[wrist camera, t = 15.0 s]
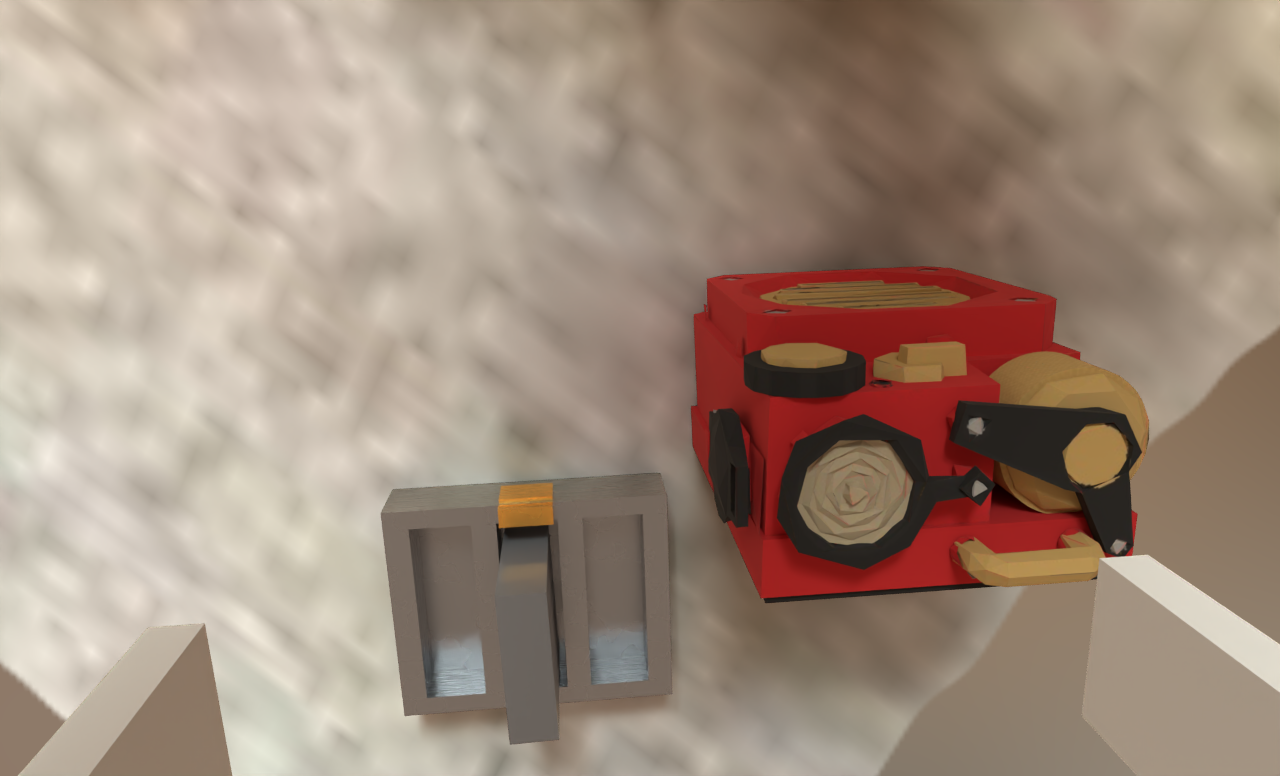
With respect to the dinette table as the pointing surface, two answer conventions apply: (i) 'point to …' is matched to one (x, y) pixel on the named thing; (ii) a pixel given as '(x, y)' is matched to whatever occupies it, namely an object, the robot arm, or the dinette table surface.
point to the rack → (582, 574)
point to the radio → (908, 434)
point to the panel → (528, 634)
